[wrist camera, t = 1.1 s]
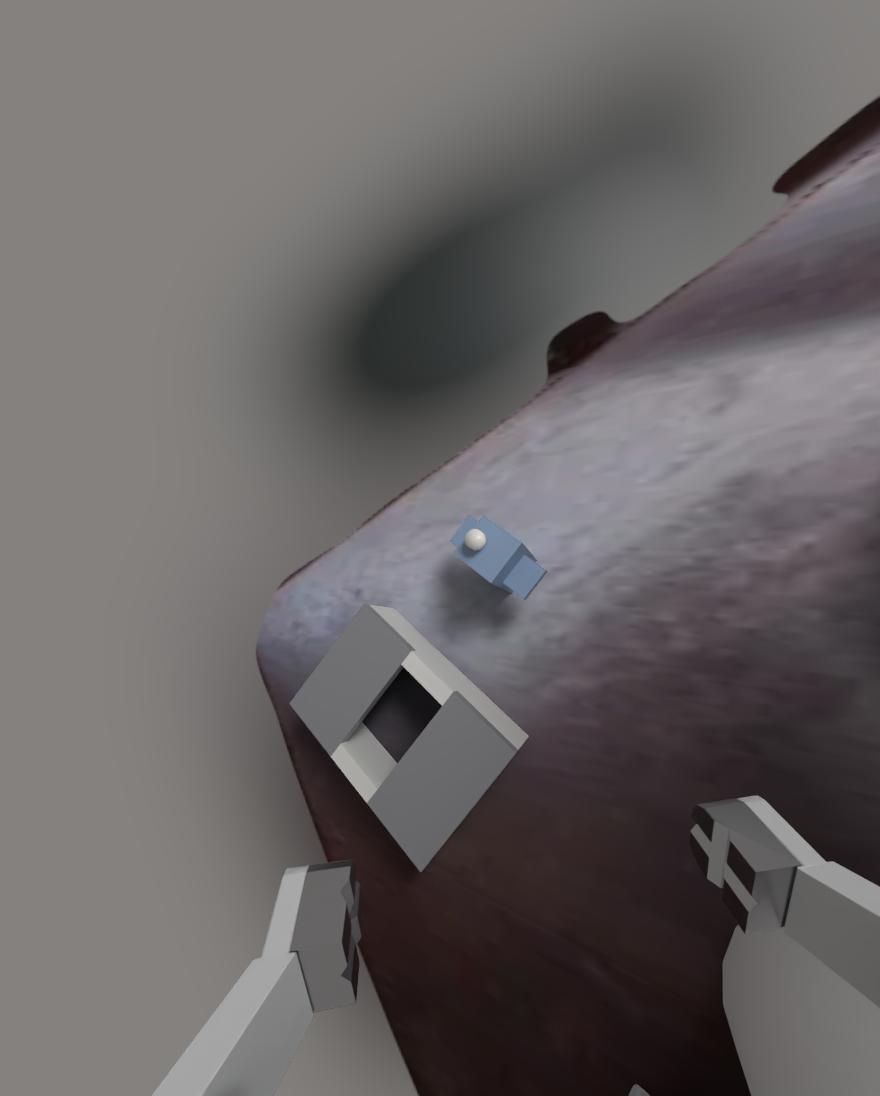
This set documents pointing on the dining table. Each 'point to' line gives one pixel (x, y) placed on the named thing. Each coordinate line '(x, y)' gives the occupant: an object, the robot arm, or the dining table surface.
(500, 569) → the block
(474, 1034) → the dining table surface
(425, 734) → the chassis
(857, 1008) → the canister
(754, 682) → the dining table surface
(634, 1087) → the light bulb box
